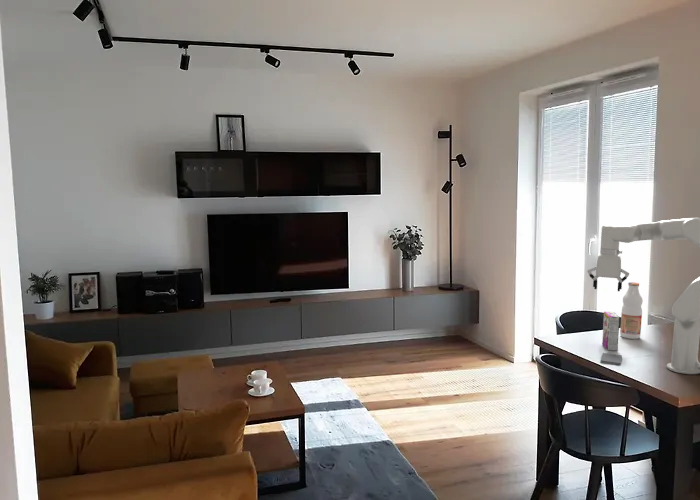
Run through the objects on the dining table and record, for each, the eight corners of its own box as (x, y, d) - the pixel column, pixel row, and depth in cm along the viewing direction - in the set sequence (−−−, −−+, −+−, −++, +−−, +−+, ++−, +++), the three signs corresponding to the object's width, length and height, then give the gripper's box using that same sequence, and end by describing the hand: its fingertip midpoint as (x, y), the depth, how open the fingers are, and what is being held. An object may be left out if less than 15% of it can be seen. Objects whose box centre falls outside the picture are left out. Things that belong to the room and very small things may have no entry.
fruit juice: (615, 334, 303) (619, 281, 299) (631, 333, 305) (635, 281, 301) (628, 339, 293) (632, 284, 290) (644, 338, 296) (648, 284, 292)
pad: (621, 357, 263) (622, 355, 263) (620, 365, 252) (620, 363, 252) (602, 354, 267) (602, 352, 267) (600, 362, 256) (600, 360, 255)
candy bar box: (601, 344, 285) (603, 311, 283) (612, 344, 284) (614, 311, 282) (606, 350, 274) (608, 316, 272) (617, 351, 273) (620, 317, 271)
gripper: (631, 252, 261) (628, 290, 263) (589, 250, 269) (587, 286, 271) (630, 254, 254) (627, 293, 256) (587, 251, 262) (585, 289, 264)
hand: (607, 289), depth 263 cm, fingers open, 9 cm apart
